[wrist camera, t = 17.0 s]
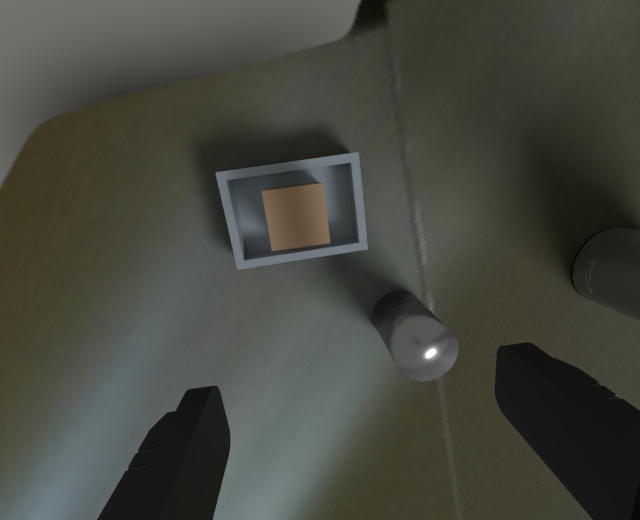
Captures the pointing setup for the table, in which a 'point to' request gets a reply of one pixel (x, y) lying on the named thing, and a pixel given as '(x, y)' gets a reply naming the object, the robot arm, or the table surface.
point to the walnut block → (296, 215)
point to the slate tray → (248, 183)
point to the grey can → (415, 337)
